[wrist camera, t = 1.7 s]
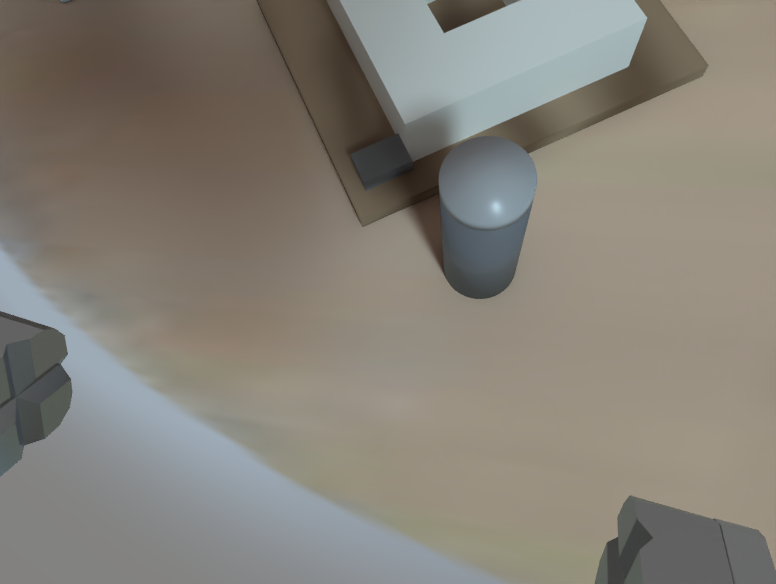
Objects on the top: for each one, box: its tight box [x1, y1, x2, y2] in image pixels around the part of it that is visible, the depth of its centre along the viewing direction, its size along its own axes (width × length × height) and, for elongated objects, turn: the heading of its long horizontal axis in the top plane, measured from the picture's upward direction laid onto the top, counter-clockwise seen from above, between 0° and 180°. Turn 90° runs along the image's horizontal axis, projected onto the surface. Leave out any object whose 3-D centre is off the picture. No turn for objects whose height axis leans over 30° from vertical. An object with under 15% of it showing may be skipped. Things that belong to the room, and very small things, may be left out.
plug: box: [439, 136, 537, 299], centre depth 31 cm, size 4×4×10 cm
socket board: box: [257, 0, 708, 227], centre depth 40 cm, size 22×18×2 cm
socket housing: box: [326, 0, 647, 161], centre depth 38 cm, size 14×14×4 cm
